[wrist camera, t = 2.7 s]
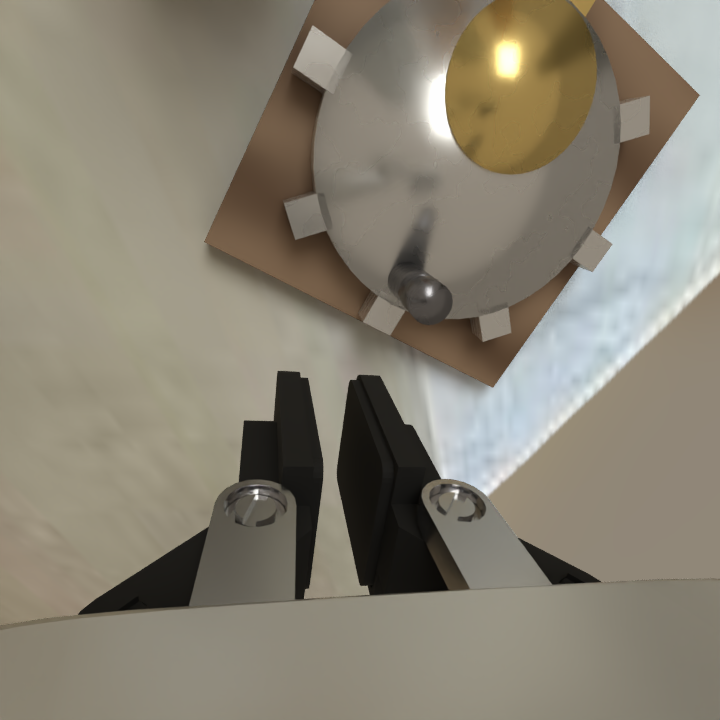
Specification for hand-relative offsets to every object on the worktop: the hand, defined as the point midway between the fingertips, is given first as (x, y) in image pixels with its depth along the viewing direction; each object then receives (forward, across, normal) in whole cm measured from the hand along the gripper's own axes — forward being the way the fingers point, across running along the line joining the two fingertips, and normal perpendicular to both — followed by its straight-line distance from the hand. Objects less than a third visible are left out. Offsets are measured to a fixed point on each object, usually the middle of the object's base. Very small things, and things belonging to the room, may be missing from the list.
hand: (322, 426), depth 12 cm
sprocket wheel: (+15, -8, -7) cm, 19 cm away
